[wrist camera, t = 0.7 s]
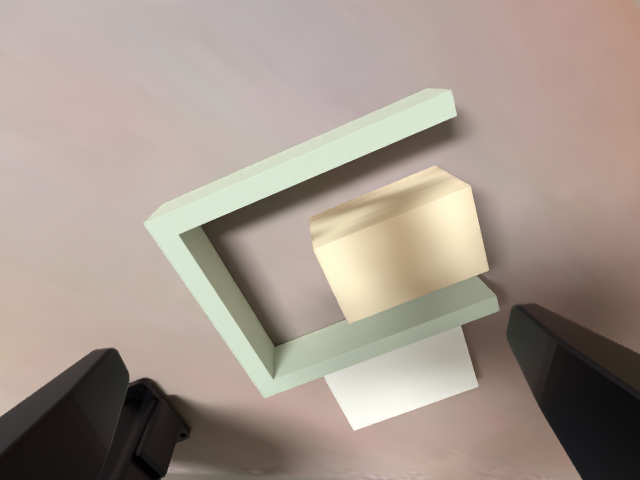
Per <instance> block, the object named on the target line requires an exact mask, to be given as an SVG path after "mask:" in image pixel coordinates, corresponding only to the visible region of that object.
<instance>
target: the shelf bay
mask: <svg viewBox="0 0 640 480" xmlns="http://www.w3.org/2000/svg"><path fill="white" fill-rule="evenodd" d="M455 116H457V113H456V109H455V104H454V100H453V95H452V91H451V90H449V89H432V88H426V89H424V90H422V91H420V92H417V93H415V94H413V95H410V96H408V97H406V98H404V99H401V100H399V101H397V102H394V103H392V104H390V105H388V106H385V107H383V108H381V109H378V110H376V111H374V112H372V113H369V114H367V115H365V116H362V117H360V118H358V119H356V120H353V121H351V122H349V123H346V124H344V125H342V126H340V127H337V128H335V129H333V130H330V131H328V132H326V133H324V134H321V135H319V136H317V137H314V138H312V139H310V140H307V141H305V142H303V143H301V144H298V145H296V146H294V147H291V148H289V149H287V150H285V151H282V152H280V153H278V154H275V155H273V156H271V157H269V158H266V159H264V160H262V161H259V162H257V163H255V164H253V165H250V166H248V167H246V168H243V169H241V170H239V171H237V172H234V173H232V174H230V175H227V176H225V177H223V178H221V179H218V180H216V181H214V182H211V183H209V184H207V185H205V186H202V187H200V188H198V189H195V190H193V191H191V192H189V193H186V194H184V195H182V196H179V197H177V198H175V199H172V200H170V201H168V202H166V203H163V204H162V205H161V206H160V207H159V208H158V209H157V210H156V211H155V212H154V213H153V214H152V215H151V216H150V217H149V218H148V219H147V220H146V221H145V222H144V223H143V224H144V225H145V227H146V228H147V230H148V231H149V233H150V234H151V235H152V237H153V238H154V240H155V241H156V243H157V244H158V246H159V247H160V248H161V250H162V251H163V253H164V254H165V256H166V257H167V259H168V260H169V261H170V263H171V264H172V266H173V267H174V269H175V270H176V271H177V273H178V274H179V276H180V277H181V279H182V280H183V282H184V283H185V284H186V286H187V287H188V289H189V290H190V292H191V293H192V295H193V296H194V297H195V299H196V300H197V302H198V303H199V305H200V306H201V308H202V309H203V310H204V312H205V313H206V315H207V316H208V318H209V319H210V320H211V322H212V323H213V325H214V326H215V328H216V329H217V331H218V332H219V333H220V335H221V336H222V338H223V339H224V341H225V342H226V344H227V345H228V346H229V348H230V349H231V351H232V352H233V354H234V355H235V356H236V358H237V359H238V361H239V362H240V364H241V365H242V367H243V368H244V369H245V371H246V372H247V374H248V375H249V377H250V378H251V380H252V381H253V382H254V384H255V385H256V387H257V388H258V390H259V391H260V393H261V394H262V395H263V397H264V398H267V397H269V396H272V395H275V394H277V393H280V392H283V391H285V390H288V389H291V388H294V387H296V386H299V385H302V384H304V383H307V382H310V381H312V380H315V379H318V378H320V377H323V376H326V375H329V374H331V373H334V372H337V371H339V370H342V369H345V368H347V367H350V366H353V365H355V364H358V363H361V362H364V361H366V360H369V359H372V358H374V357H377V356H380V355H382V354H385V353H388V352H390V351H393V350H396V349H399V348H401V347H404V346H407V345H409V344H412V343H415V342H417V341H420V340H423V339H426V338H428V337H431V336H434V335H436V334H439V333H442V332H444V331H447V330H450V329H452V328H455V327H458V326H461V325H463V324H466V323H469V322H471V321H474V320H477V319H479V318H482V317H485V316H487V315H490V314H493V313H496V312H498V311H500V309H499V305H498V300H497V296H496V295H495V294H494V293H493V292H492V291H491V290H490V289H489V288H488V287H487V286H486V285H485V283H484V282H483V281H482V280H481V279H480V278H479V277H478V276H477V275H476V276H473V277H471V278H468V279H466V280H463V281H460V282H458V283H455V284H452V285H450V286H447V287H445V288H442V289H439V290H437V291H434V292H432V293H429V294H426V295H424V296H421V297H418V298H416V299H413V300H411V301H408V302H405V303H403V304H400V305H397V306H395V307H392V308H390V309H387V310H384V311H382V312H379V313H376V314H374V315H371V316H369V317H366V318H363V319H361V320H358V321H355V322H353V323H350V324H348V322H347V320H343V321H341V322H338V323H336V324H333V325H330V326H328V327H325V328H323V329H320V330H317V331H315V332H312V333H310V334H307V335H304V336H302V337H299V338H297V339H294V340H291V341H289V342H286V343H284V344H281V345H278V346H276V347H275V346H274V345H273V343H272V341H271V340H270V338H269V336H268V335H267V333H266V332H265V330H264V328H263V327H262V325H261V323H260V322H259V320H258V319H257V317H256V315H255V314H254V312H253V310H252V309H251V307H250V306H249V304H248V302H247V301H246V299H245V297H244V296H243V294H242V293H241V291H240V289H239V288H238V286H237V284H236V283H235V281H234V280H233V278H232V276H231V275H230V273H229V271H228V270H227V268H226V267H225V265H224V263H223V262H222V260H221V258H220V257H219V255H218V254H217V252H216V250H215V249H214V247H213V245H212V244H211V242H210V241H209V239H208V237H207V236H206V234H205V233H204V231H203V229H202V228H201V226H200V225H202V224H204V223H206V222H209V221H211V220H214V219H216V218H218V217H221V216H223V215H225V214H228V213H230V212H232V211H235V210H237V209H239V208H242V207H244V206H246V205H249V204H251V203H253V202H256V201H258V200H260V199H263V198H265V197H267V196H270V195H272V194H275V193H277V192H279V191H282V190H284V189H286V188H289V187H291V186H293V185H296V184H298V183H300V182H303V181H305V180H307V179H310V178H312V177H314V176H317V175H319V174H321V173H324V172H326V171H328V170H331V169H333V168H335V167H338V166H340V165H343V164H345V163H347V162H350V161H352V160H354V159H357V158H359V157H361V156H364V155H366V154H368V153H371V152H373V151H375V150H378V149H380V148H382V147H385V146H387V145H389V144H392V143H394V142H396V141H399V140H401V139H403V138H406V137H408V136H411V135H413V134H415V133H418V132H420V131H422V130H425V129H427V128H429V127H432V126H434V125H436V124H439V123H441V122H443V121H446V120H448V119H450V118H453V117H455Z"/></svg>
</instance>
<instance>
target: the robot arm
mask: <svg viewBox="0 0 640 480" xmlns="http://www.w3.org/2000/svg"><path fill="white" fill-rule="evenodd" d="M506 334H507V340H508V343H509V345H510V347H511V349H512V351H513V353H514V356H515V358H516V360H517V362H518V364H519V366H520V368H521V370H522V373H523V375H524V377H525V379H526V381H527V383H528V385H529V387H530V390H531V392H532V394H533V396H534V398H535V400H536V402H537V404H538V406H539V408H540V409H541V411H542V413H543V415H544V416H545V418H546V420H547V421H548V423H549V425H550V426H551V428H552V430H553V431H554V433H555V435H556V436H557V438H558V440H559V441H560V443H561V445H562V446H563V448H564V450H565V451H566V453H567V455H568V456H569V458H570V460H571V461H572V463H573V465H574V466H575V468H576V470H577V471H578V473H579V475H580V476H581V478H582V480H640V354H638V353H636V352H634V351H632V350H630V349H628V348H626V347H624V346H622V345H620V344H618V343H616V342H614V341H612V340H610V339H608V338H605V337H603V336H601V335H599V334H597V333H595V332H593V331H591V330H589V329H587V328H585V327H583V326H581V325H579V324H577V323H575V322H572V321H570V320H568V319H566V318H564V317H562V316H560V315H558V314H556V313H554V312H552V311H550V310H548V309H546V308H544V307H541V306H539V305H537V304H535V303H531V302H529V303H520V304H515V305H513V306H512V308H511V311H510V316H509V321H508V326H507V332H506ZM141 386H142V387H141ZM190 433H191V429H190V428H189V427H188V425H187V424H186V423H185V422H184V421H183V420H182V419H181V418H180V416H179V415H178V414H177V413H176V412H175V411H174V410H173V408H172V407H171V406H170V405H169V404H168V403H167V402H166V401H165V399H164V398H163V397H162V396H161V395H160V394H159V393H158V391H157V390H156V389H155V388H154V387H153V386H152V385H151V384H150V382H149V381H147V380H145V379H140V380H137V381H134V382H131V383H129V372H128V370H127V368H126V366H125V364H124V362H123V360H122V358H121V356H120V354H119V352H118V351H117V350H116V349H115V348H102V349H96V350H93V351H92V352H90V353H89V354H88V355H86V356H85V357H83V358H82V359H81V360H79V361H78V362H76V363H75V364H74V365H72V366H71V367H69V368H68V369H67V370H65V371H64V372H62V373H61V374H60V375H58V376H57V377H55V378H54V379H53V380H51V381H50V382H48V383H47V384H46V385H44V386H43V387H41V388H40V389H39V390H37V391H36V392H34V393H33V394H32V395H30V396H29V397H27V398H26V399H25V400H23V401H22V402H20V403H19V404H18V405H16V406H15V407H14V408H12V409H11V410H9V411H8V412H7V413H5V414H4V415H2V416H1V417H0V480H161V478H163V477H165V475H166V473H167V470H168V467H169V464H170V460H171V457H172V454H173V451H174V447H175V444H176V443H177V442H180V441H183V440H185V439H188V438H189V437H190Z"/></svg>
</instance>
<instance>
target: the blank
mask: <svg viewBox="0 0 640 480" xmlns="http://www.w3.org/2000/svg"><path fill="white" fill-rule="evenodd" d="M309 224H310V231H311V237H312V244H313V250H314V252H315V254H316V256H317V258H318V260H319V263H320V265H321V267H322V269H323V271H324V273H325V275H326V277H327V280H328V282H329V284H330V286H331V288H332V290H333V292H334V295H335V297H336V299H337V301H338V303H339V305H340V307H341V309H342V312H343V314H344V316H345V318H346V320H347V322H348V324H350V323H353V322H355V321H358V320H361V319H363V318H366V317H369V316H371V315H374V314H376V313H379V312H382V311H384V310H387V309H390V308H392V307H395V306H397V305H400V304H403V303H405V302H408V301H411V300H413V299H416V298H418V297H421V296H424V295H426V294H429V293H432V292H434V291H437V290H439V289H442V288H445V287H447V286H450V285H452V284H455V283H458V282H460V281H463V280H466V279H468V278H471V277H473V276H476V275H479V274H481V273H484V272H487V271H489V267H488V263H487V258H486V253H485V249H484V244H483V240H482V235H481V231H480V226H479V222H478V217H477V212H476V208H475V203H474V199H473V194H472V190H471V186H470V185H468V184H466V183H465V182H463V181H461V180H460V179H458V178H456V177H454V176H453V175H451V174H449V173H447V172H446V171H444V170H442V169H440V168H439V167H437V166H433V167H431V168H428V169H426V170H423V171H421V172H418V173H416V174H414V175H411V176H409V177H406V178H404V179H402V180H399V181H397V182H394V183H392V184H389V185H387V186H385V187H382V188H380V189H377V190H375V191H372V192H370V193H368V194H365V195H363V196H360V197H358V198H356V199H353V200H351V201H348V202H346V203H343V204H341V205H339V206H336V207H334V208H331V209H329V210H327V211H324V212H322V213H319V214H317V215H314V216H312V217H310V218H309Z"/></svg>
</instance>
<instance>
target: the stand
mask: <svg viewBox="0 0 640 480" xmlns="http://www.w3.org/2000/svg"><path fill="white" fill-rule="evenodd" d="M324 378H325V380H326V382H327V383H328V385H329V387H330V389H331V390H332V392H333V394H334V396H335V398H336V399H337V401H338V403H339V405H340V407H341V408H342V410H343V412H344V414H345V415H346V417H347V419H348V421H349V423H350V424H351V426H352V428H353V430H357V429H360V428H363V427H366V426H368V425H371V424H374V423H377V422H380V421H383V420H385V419H388V418H391V417H394V416H397V415H400V414H402V413H405V412H408V411H411V410H414V409H417V408H419V407H422V406H425V405H428V404H431V403H433V402H436V401H439V400H442V399H445V398H448V397H450V396H453V395H456V394H459V393H462V392H465V391H467V390H470V389H473V388H476V387H479V386H478V383H477V379H476V376H475V372H474V369H473V365H472V362H471V358H470V355H469V352H468V348H467V345H466V341H465V338H464V334H463V331H462V327H461V326H458V327H455V328H452V329H450V330H447V331H444V332H442V333H439V334H436V335H434V336H431V337H428V338H426V339H423V340H420V341H417V342H415V343H412V344H409V345H407V346H404V347H401V348H399V349H396V350H393V351H390V352H388V353H385V354H382V355H380V356H377V357H374V358H372V359H369V360H366V361H364V362H361V363H358V364H355V365H353V366H350V367H347V368H345V369H342V370H339V371H337V372H334V373H331V374H329V375H326V376H324Z"/></svg>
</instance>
